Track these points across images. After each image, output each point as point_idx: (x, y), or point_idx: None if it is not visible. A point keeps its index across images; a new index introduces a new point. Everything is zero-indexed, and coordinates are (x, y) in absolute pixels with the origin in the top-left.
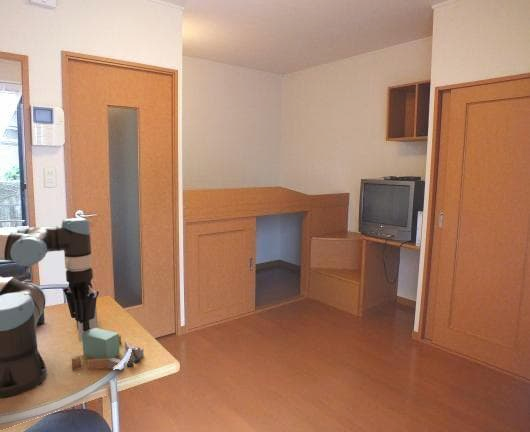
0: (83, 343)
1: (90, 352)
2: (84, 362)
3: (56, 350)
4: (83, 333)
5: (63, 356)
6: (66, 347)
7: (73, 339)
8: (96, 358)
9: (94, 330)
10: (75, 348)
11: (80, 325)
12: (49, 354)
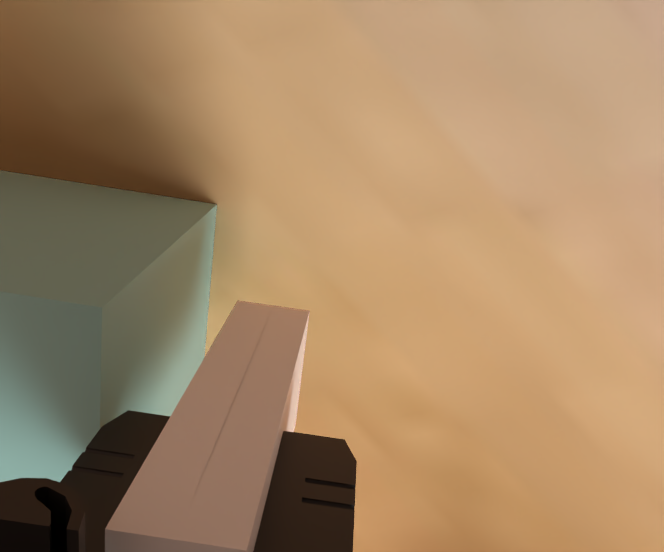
0: (152, 244)
1: (69, 197)
2: (52, 42)
3: (637, 203)
4: (84, 325)
5: (428, 94)
6: (560, 301)
7: (613, 479)
8: (2, 171)
9: (6, 479)
10: (429, 307)
11: (165, 468)
12: (659, 85)
